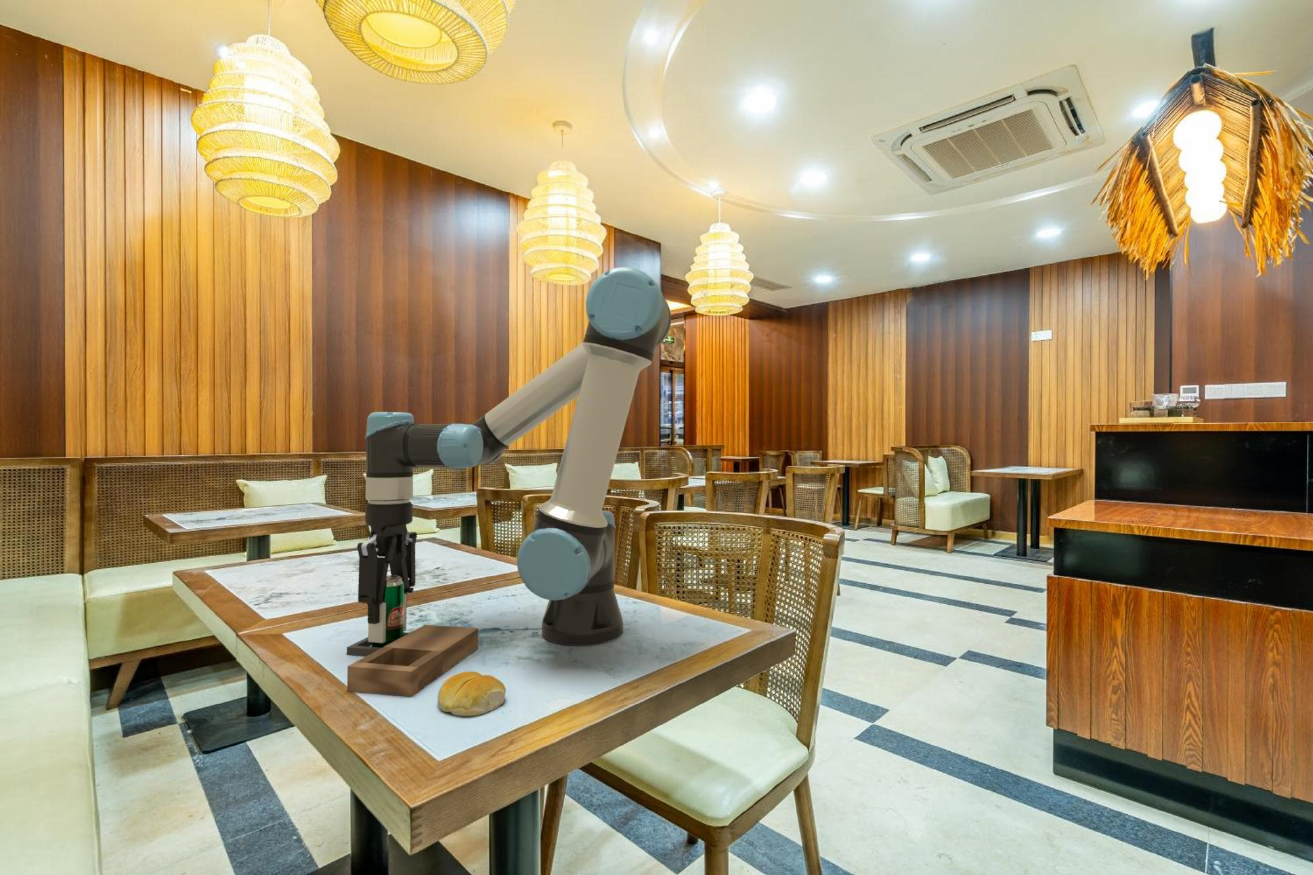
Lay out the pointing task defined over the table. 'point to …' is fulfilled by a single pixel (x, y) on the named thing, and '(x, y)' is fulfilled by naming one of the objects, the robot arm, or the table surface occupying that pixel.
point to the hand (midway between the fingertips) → (387, 635)
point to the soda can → (393, 610)
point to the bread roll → (471, 694)
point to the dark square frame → (363, 648)
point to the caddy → (412, 660)
